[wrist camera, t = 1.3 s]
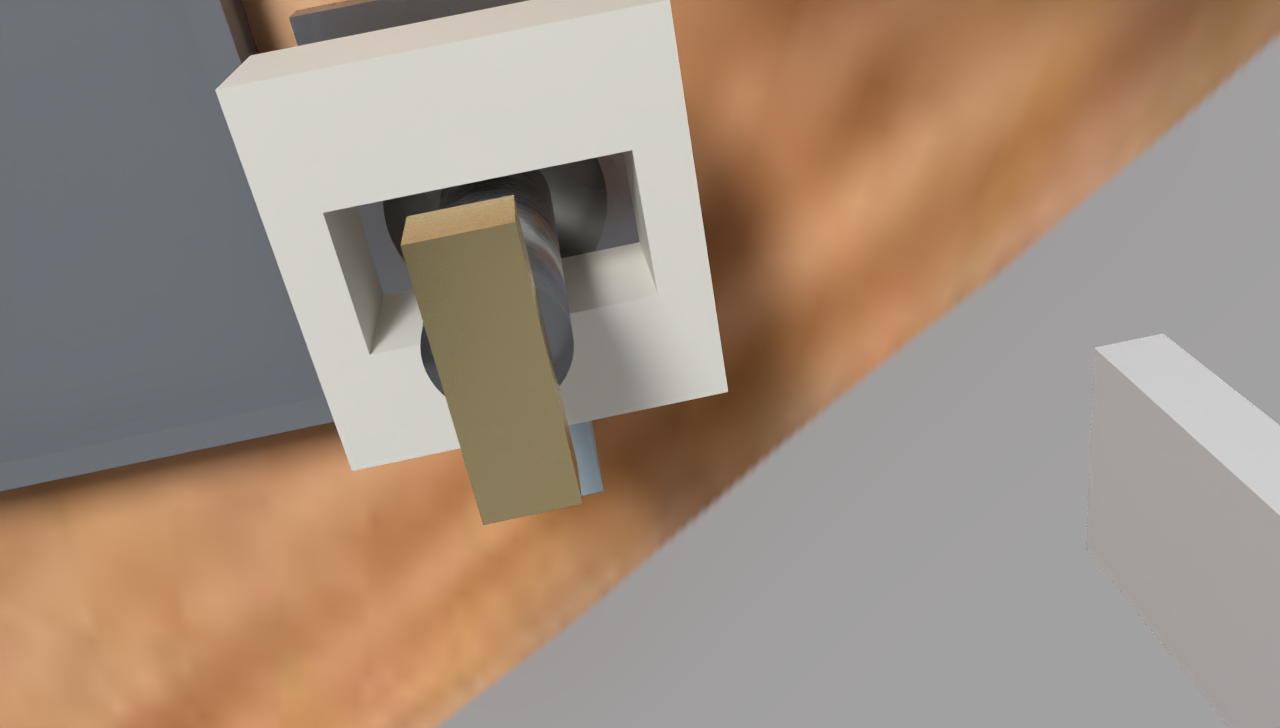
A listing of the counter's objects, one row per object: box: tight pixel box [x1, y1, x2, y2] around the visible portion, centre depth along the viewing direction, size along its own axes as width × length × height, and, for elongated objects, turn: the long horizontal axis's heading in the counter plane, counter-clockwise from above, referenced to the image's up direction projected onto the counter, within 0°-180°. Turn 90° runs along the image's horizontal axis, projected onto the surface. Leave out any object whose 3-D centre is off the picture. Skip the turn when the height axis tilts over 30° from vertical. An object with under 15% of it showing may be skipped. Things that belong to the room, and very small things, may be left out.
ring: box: [215, 0, 728, 496], centre depth 22 cm, size 8×10×3 cm
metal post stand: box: [289, 0, 639, 525], centre depth 22 cm, size 8×8×14 cm
